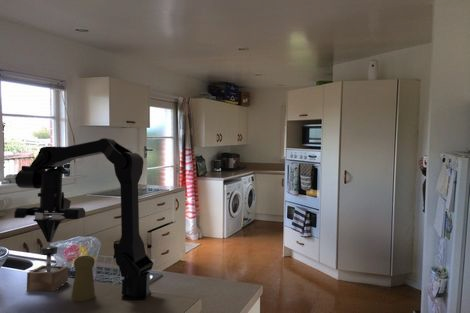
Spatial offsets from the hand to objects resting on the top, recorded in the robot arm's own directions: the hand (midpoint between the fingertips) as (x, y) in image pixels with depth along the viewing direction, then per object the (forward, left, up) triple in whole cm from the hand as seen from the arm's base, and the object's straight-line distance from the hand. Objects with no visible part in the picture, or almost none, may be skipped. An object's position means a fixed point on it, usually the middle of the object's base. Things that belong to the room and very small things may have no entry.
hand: (49, 242), depth 110 cm
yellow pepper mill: (-14, +8, -13) cm, 21 cm away
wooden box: (0, 0, -13) cm, 13 cm away
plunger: (0, 0, -10) cm, 10 cm away
